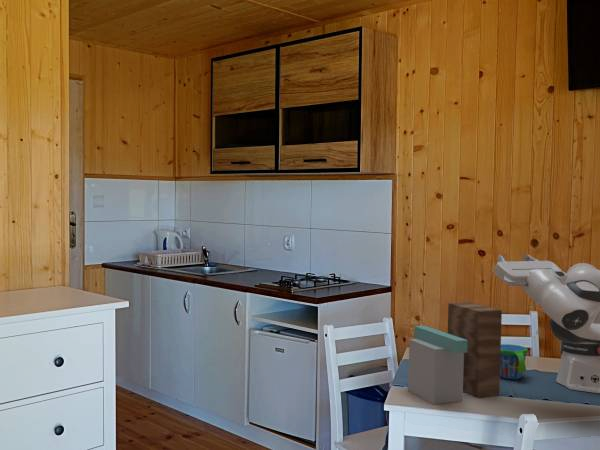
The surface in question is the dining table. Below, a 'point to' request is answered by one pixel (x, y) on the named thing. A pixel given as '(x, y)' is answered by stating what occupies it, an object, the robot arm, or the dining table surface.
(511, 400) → the dining table surface
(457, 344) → the batten
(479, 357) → the walnut stand
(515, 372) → the snack cup
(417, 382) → the base block
